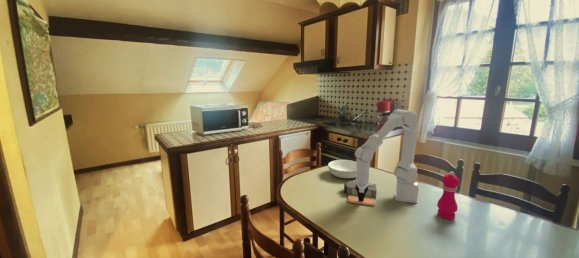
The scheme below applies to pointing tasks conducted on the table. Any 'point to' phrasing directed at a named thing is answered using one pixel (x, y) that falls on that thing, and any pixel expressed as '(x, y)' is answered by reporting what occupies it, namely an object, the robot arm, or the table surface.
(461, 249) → the table surface
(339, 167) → the serving bowl
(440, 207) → the pepper mill
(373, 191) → the camera housing
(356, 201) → the side door
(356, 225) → the table surface
